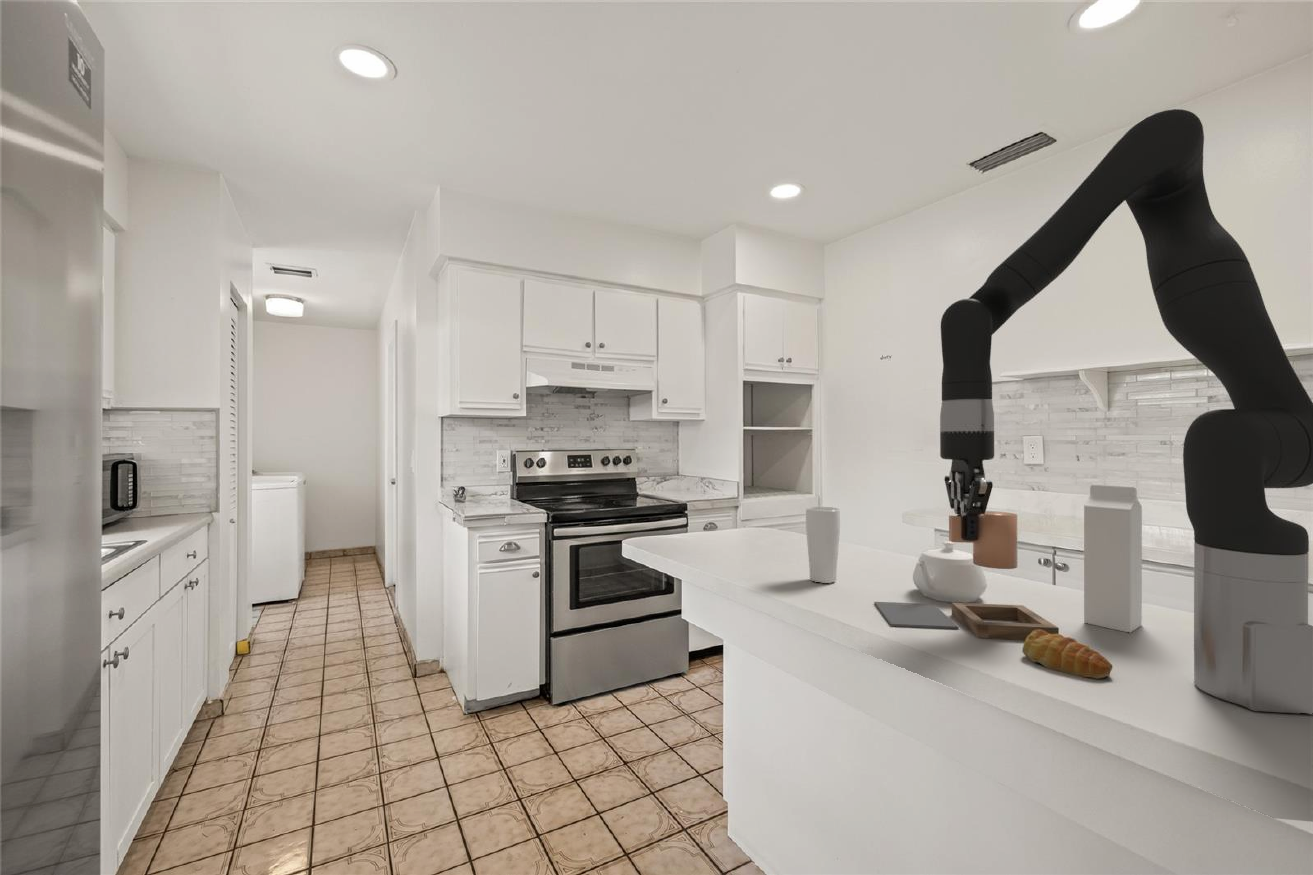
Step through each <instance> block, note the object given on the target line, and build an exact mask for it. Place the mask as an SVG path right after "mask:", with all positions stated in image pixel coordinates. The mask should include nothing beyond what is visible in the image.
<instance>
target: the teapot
mask: <svg viewBox="0 0 1313 875" xmlns="http://www.w3.org/2000/svg"><path fill="white" fill-rule="evenodd" d="M942 545H943V546H944V548H938V549H937V548H935V549H929V550H928V549H927V550H925V551H923V552H922V553H921V554H920V556H919V558H918V560H917V563H916V564H915V567H914V570H913V573H912V581H913V584H914V586H915V587H916V588H917V589H918V590H919V591H920V592H921V593H922V594H923V595H924V596H925V597H927V598H928V599H931V600H936V601H941V602H946V603H947V602H948V603H973V602H975V601H977V600H978V598H979V597H981V596H982V595H984V593H985V591H986V590H987V588H988V583H987V579H986V575H985V573H984V569H983V567H982V566H978V565H975V564H974V563H973V553H969V552H967V551H962V550H956V549H954V547H955V545H956V542H951V541H949V540H947V541H946V540H944V541H942Z"/></svg>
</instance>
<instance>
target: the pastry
mask: <svg viewBox="0 0 1313 875" xmlns="http://www.w3.org/2000/svg"><path fill="white" fill-rule="evenodd" d="M1021 652H1022V653H1023V655H1024V656H1025V657H1026V658H1027V659H1028V660H1029V661H1030V662H1032V663H1033V664H1034V663H1035V664H1036V663H1040V664H1041V665H1042V666H1043V667H1045V668H1047V669H1050V670H1053V671H1055V670H1056V671H1058V672H1062V673H1066V674H1068V675H1073V676H1076V677H1081V678H1093V679H1097V680H1099V679H1103V678H1105V677H1108V676H1110V674H1111V671H1112V670H1113V665H1112V664H1111V662H1110V661H1109V660H1108V659H1107V658H1106V657H1104V656H1103V655H1102V654H1100V652H1098V651H1096V650H1094V649H1092V648H1090V647H1089V645H1085V644H1083V643H1081V642H1078V641H1077V640H1076V639H1075V638H1072V637H1067V636H1066V637H1065V636H1064V635H1062V634H1060V633H1059V634H1049V633H1047V632H1046V631H1043V630H1040V629H1039V630H1034V631H1032V632H1031V634H1030V635H1028V636H1027V638H1026V640H1024V643H1023V646H1022V651H1021Z"/></svg>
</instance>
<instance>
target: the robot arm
mask: <svg viewBox="0 0 1313 875" xmlns="http://www.w3.org/2000/svg"><path fill="white" fill-rule="evenodd" d="M1204 132H1205V131H1204V126H1203V123H1202V120H1201V119H1200V118H1199V117H1198V116H1197V114H1195V113H1194V112H1192V111H1190V110H1187V109H1181V108H1180V109H1179V108H1173V109H1165V110H1161V111H1158V112H1157V111H1156V112H1154V113H1153V114H1150V115H1147V116H1146V117H1144V118H1143V119H1141V120H1139V121H1137V122H1136V123H1135V124H1134V125H1133V126H1131V127H1130V128H1129V129H1128V130H1127V131H1126V132H1125V133H1124V134H1123V135H1122V136H1121V137H1120V139H1118V140H1117V142H1116V143H1114V145H1113V146H1112V148H1111V149H1110V150H1109V151H1108V152H1107V153H1106V155H1105V156H1104V157H1103V159H1101V161H1100V162H1098V164H1097V165H1096V166H1095V167H1094V169H1093V170H1092V171H1091V172H1090V173H1089V175H1088V176H1087V177H1086V178H1085V179H1084V180H1083V181H1082V183H1080V185H1079V186H1078V187H1077V188H1076V189H1075V190H1074V191H1073V193H1072V194H1071V195H1070V196H1069V197H1068V198H1067V199H1066V200H1065V202H1064V203H1062V204H1061V206H1060V207H1059V208H1058V209H1057V210H1056V211H1055V212H1054V213H1053V214H1052V215H1051V217H1049V218H1048V219H1047V221H1045V222H1044V223H1043V225H1041V226H1040V228H1038V230H1036V231H1035V232H1034V233H1033V234H1032V235H1031V236H1030V237H1029V238H1028V239H1027V240H1026V241H1025V242H1024V243H1022V244H1021V245H1020V246H1019V247H1017V249H1015V250H1014V251H1013V252H1012V253H1011V254H1010V255H1009V256H1008V257H1006V258H1005V259H1004V260H1003V261H1002V262H1001V263H1000V264H999V265H998V266H997V267H996V268H995V269H994V270H993V271H992V272H991V273H989V275H988V276H987V279H986V281H985V282H984V283H983V285H982V286H980V288H979V289H977V290H976V291H975V292H974V293H973V294H971V296H969V297H968V298H963V299H959V300H957V301H955V302H953V303H952V304H950V305H949V306H948V307H947V308H946V310H944V312H943V314H942V317H941V320H940V339H941V340H940V341H941V343H940V344H941V356H942V374H941V376H942V377H941V408H940V413H939V414H940V415H939V427H940V428H939V443H940V444H939V449H940V450H939V453H940V454H939V456H940V458H941V459H943V460H950V461H951V460H952V461H951V467H950V470H949V475H945V476H944V479H943V480H944V484H945V488H946V492H947V496H948V502H949V506H950V509H952V510H953V512H954V514H955V515H956V516H961V537H962V539H963V540H965V541H976V540H978V517H980V514H985V511H987V507H988V503H989V500H990V497H991V493H992V489H993V486H994V484H993V481H992V480H986V472H985V468H984V463H983V461H987V460H988V461H989V460H994V458H995V411H994V406H993V377H992V376H993V374H992V368H991V353H992V352H991V351H992V339H993V335H994V334H995V333H996V332H997V331H998V330H1000V328H1001V327H1003V325H1004V324H1005V323H1006V322H1007V321H1008V320H1009V319H1010V318H1011V317H1012V316H1013V315H1014V314H1015V313H1016V312H1017V311H1018V310H1019V309H1020V308H1021V307H1023V306H1024V305H1026V304H1027V303H1028V302H1030V301H1031V300H1032V299H1034V298H1035V297H1036V296H1037V295H1038V294H1040V292H1042V291H1043V290H1044V289H1046V287H1048V286H1049V285H1050V284H1051V283H1052V282H1054V281H1055V280H1056V279H1057V278H1058V277H1059V276H1060V275H1061V274H1062V273H1063V272H1065V271H1066V269H1068V268H1069V266H1070V265H1071V264H1072V263H1073V262H1074V261H1075V259H1076V258H1077V257H1078V256H1079V255H1080V254H1081V252H1082V250H1083V249H1084V248H1085V247H1086V245H1087V243H1089V241H1090V240H1091V239H1092V237H1093V236H1094V235H1095V234H1096V232H1097V231H1098V230H1099V228H1100V227H1101V226H1102V224H1103V223H1105V221H1106V220H1107V219H1108V218H1109V216H1111V214H1112V213H1114V211H1115V210H1116V209H1117V208H1118V207H1120V205H1122V204H1123V203H1124V202H1126V204H1127V206H1128V208H1129V210H1130V212H1131V213H1132V215H1133V217H1134V220H1135V222H1136V224H1137V225H1138V228H1139V230H1140V232H1141V235H1142V237H1143V241H1144V245H1145V252H1146V254H1145V255H1146V262H1147V269H1148V270H1147V271H1148V274H1149V280H1150V284H1151V288H1152V292H1153V296H1154V298H1155V299H1154V300H1155V303H1156V305H1157V308H1158V311H1159V315H1160V317H1161V320H1162V323H1163V324H1164V327H1165V328H1166V330H1167V331H1168V332H1169V334H1170V335H1171V337H1173V338H1174V340H1176V342H1177V343H1178V344H1179V345H1181V346H1182V348H1184V349H1185V350H1186V351H1187V352H1188V353H1190V355H1192V356H1193V357H1194V358H1196V359H1197V360H1198V361H1199V362H1200V363H1202V364H1203V366H1205V367H1206V368H1207V369H1208V370H1209V371H1210V372H1212V374H1213V375H1215V377H1216V378H1217V379H1218V380H1219V381H1220V383H1221V384H1222V385H1223V387H1224V389H1225V390H1226V392H1227V394H1228V395H1229V399H1230V400H1231V403H1232V405H1233V408H1229V409H1228V408H1227V409H1226V408H1224V409H1214V410H1209V411H1207V412H1203V413H1201V414H1200V415H1199V416H1197V417H1196V418H1195V419H1194V420H1193V421H1192V423H1191V424H1190V425H1189V426H1188V429H1187V431H1186V434H1185V437H1184V441H1183V448H1182V451H1183V454H1182V460H1183V462H1182V464H1183V478H1184V490H1185V491H1184V492H1185V505H1186V507H1185V509H1186V512H1187V517H1188V519H1189V521H1190V524H1191V526H1192V528H1193V535H1194V537H1193V538H1194V542H1193V547H1194V548H1193V551H1194V552H1193V553H1194V554H1193V555H1194V557H1193V559H1194V560H1193V562H1194V564H1193V565H1194V566H1193V684H1194V685H1195V686H1196V687H1197V688H1199V689H1200V690H1201V691H1203V692H1205V693H1206V694H1209V695H1211V696H1213V697H1215V698H1218V699H1221V700H1223V701H1226V702H1230V703H1232V704H1236V705H1239V706H1241V707H1245V708H1247V709H1248V710H1251V711H1254V712H1267V713H1268V712H1269V713H1270V712H1273V713H1286V714H1287V713H1289V714H1300V713H1313V625H1311V624H1309V556H1310V555H1309V552H1310V551H1309V550H1310V549H1309V548H1310V547H1309V546H1310V545H1309V544H1310V541H1309V540H1310V539H1309V533H1308V530H1307V529H1306V528H1305V527H1304V526H1303V525H1301V524H1299V523H1296V522H1293V521H1290V520H1287V519H1285V518H1282V517H1280V516H1279V515H1277V514H1275V513H1274V512H1273V511H1272V510H1270V508H1269V507H1268V504H1267V499H1266V491H1265V489H1295V488H1297V489H1298V488H1303V487H1304V488H1305V487H1307V486H1312V484H1313V401H1312V399H1311V397H1310V396H1309V394H1308V392H1307V390H1306V389H1305V387H1304V385H1303V383H1302V382H1301V380H1300V378H1299V377H1298V375H1297V373H1296V371H1295V369H1294V367H1293V366H1292V364H1291V362H1290V361H1289V359H1288V356H1287V354H1286V352H1285V350H1284V347H1283V345H1282V343H1281V341H1280V338H1279V335H1278V333H1277V332H1276V330H1275V326H1274V325H1273V323H1272V319H1271V318H1270V315H1269V313H1268V310H1267V308H1266V306H1265V301H1264V300H1263V296H1262V292H1261V289H1260V287H1259V285H1258V282H1257V279H1256V277H1255V274H1254V271H1253V269H1252V267H1251V263H1250V262H1249V259H1248V257H1247V256H1246V255H1247V254H1246V253H1245V252H1244V250H1243V249H1242V247H1241V246H1240V244H1239V243H1238V241H1237V240H1236V239H1235V238H1234V237H1233V236H1232V235H1231V234H1230V232H1228V231H1227V230H1226V228H1224V227H1223V226H1222V225H1221V223H1219V221H1218V219H1217V218H1216V217H1215V215H1214V213H1213V211H1212V207H1211V205H1210V201H1209V197H1208V193H1207V188H1206V183H1205V177H1204V145H1205V135H1204Z"/></svg>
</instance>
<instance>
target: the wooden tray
mask: <svg viewBox="0 0 1313 875" xmlns="http://www.w3.org/2000/svg"><path fill="white" fill-rule="evenodd" d="M951 616H953V617H954V618H955V619H956V620H957V621H959V622H960V623H961V624H962V625H963V626H964V627H965V628H966V629H967V630H969V632H971V633H972V634H973V635H974V636H975V637H976V638H977V639H994V640H995V639H997V640H1015V641H1016V640H1017V641H1018V640H1019V641H1022V640H1023V641H1025V640H1026V638H1027V636H1028V635H1030V634H1031V632H1032V631H1034V630H1039V629H1040V630H1043V631H1046V632H1047V633H1049V634H1060V633H1059V632H1060V628H1059V627H1058V626H1057V625H1055V624H1053V623H1052V622H1050V621H1048V620H1047V619H1046V618H1043V617H1042V616H1041V615H1039V614H1037V613H1036V612H1034V611H1032V609H1030V608H1028V607H1026V606H1025V605H1024V604H1023V605H1021V604H1020V605H1019V604H996V603H995V604H993V603H990V604H989V603H973V602H969V603H955V602H951ZM983 619H986V620H987V619H988V620H1007V621H1018V622H1003V621H1001V622H999V621H998V622H997V621H985V620H983Z"/></svg>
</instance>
